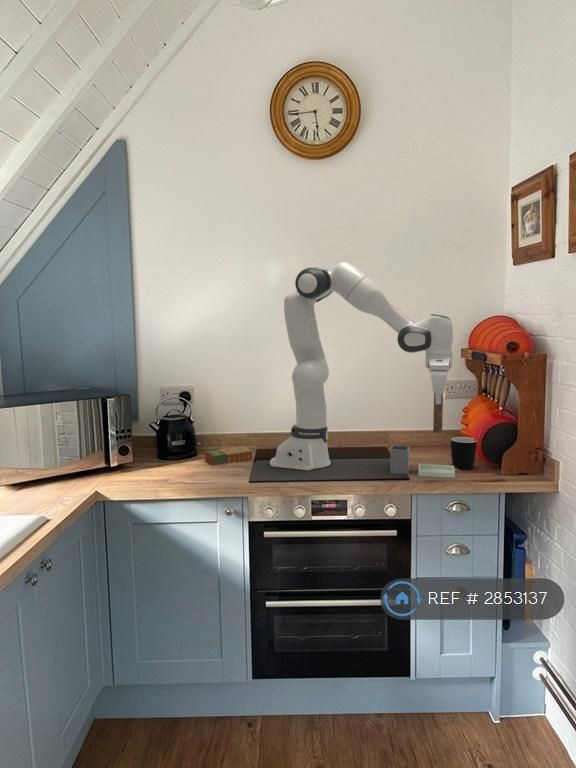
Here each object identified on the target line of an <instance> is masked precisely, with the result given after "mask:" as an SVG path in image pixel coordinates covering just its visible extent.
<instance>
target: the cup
mask: <svg viewBox="0 0 576 768" xmlns="http://www.w3.org/2000/svg"><path fill="white" fill-rule="evenodd" d="M389 456H390V457H389V458H390V460H389V465H390V466H389V474H390V475H391V474H394V475H409V472H410V446H409V445H391V446H390V451H389Z"/></svg>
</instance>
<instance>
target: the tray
mask: <svg viewBox="0 0 576 768" xmlns="http://www.w3.org/2000/svg"><path fill="white" fill-rule="evenodd" d="M417 473H418V475H417V476H420V477H435V478H437V477H438V478H452V479H453V478H454V479H455V478H456V472H455V466H454V465H453V464H452V465H449V464H428V463H418V471H417Z"/></svg>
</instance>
